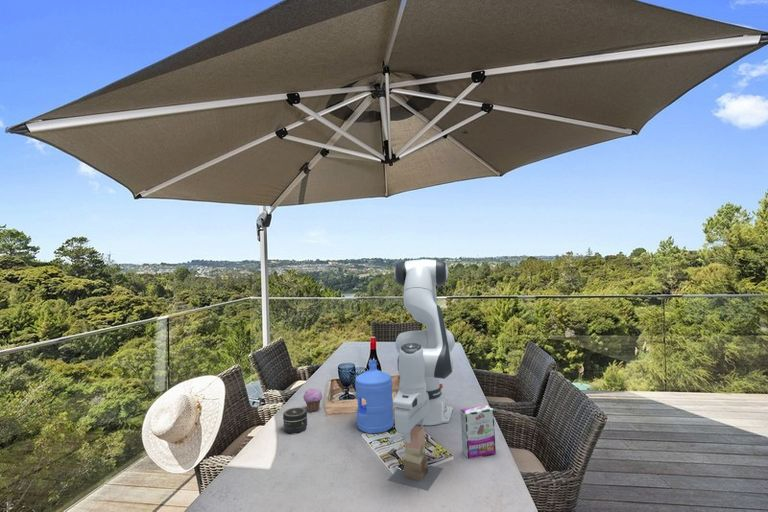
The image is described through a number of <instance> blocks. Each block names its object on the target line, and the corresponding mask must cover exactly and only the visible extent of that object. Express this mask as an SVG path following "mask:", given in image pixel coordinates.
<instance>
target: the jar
mask: <svg viewBox="0 0 768 512" xmlns="http://www.w3.org/2000/svg"><path fill="white" fill-rule="evenodd" d="M282 420H283V429H284V432H285V433H287V434H289V433H297V434H301V433H303V432H304V431H306V429H307V426H308V411H307V409H306V408H303V407H293V408H288V409H286V410H284V412H283V414H282ZM300 432H301V433H300Z"/></svg>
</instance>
